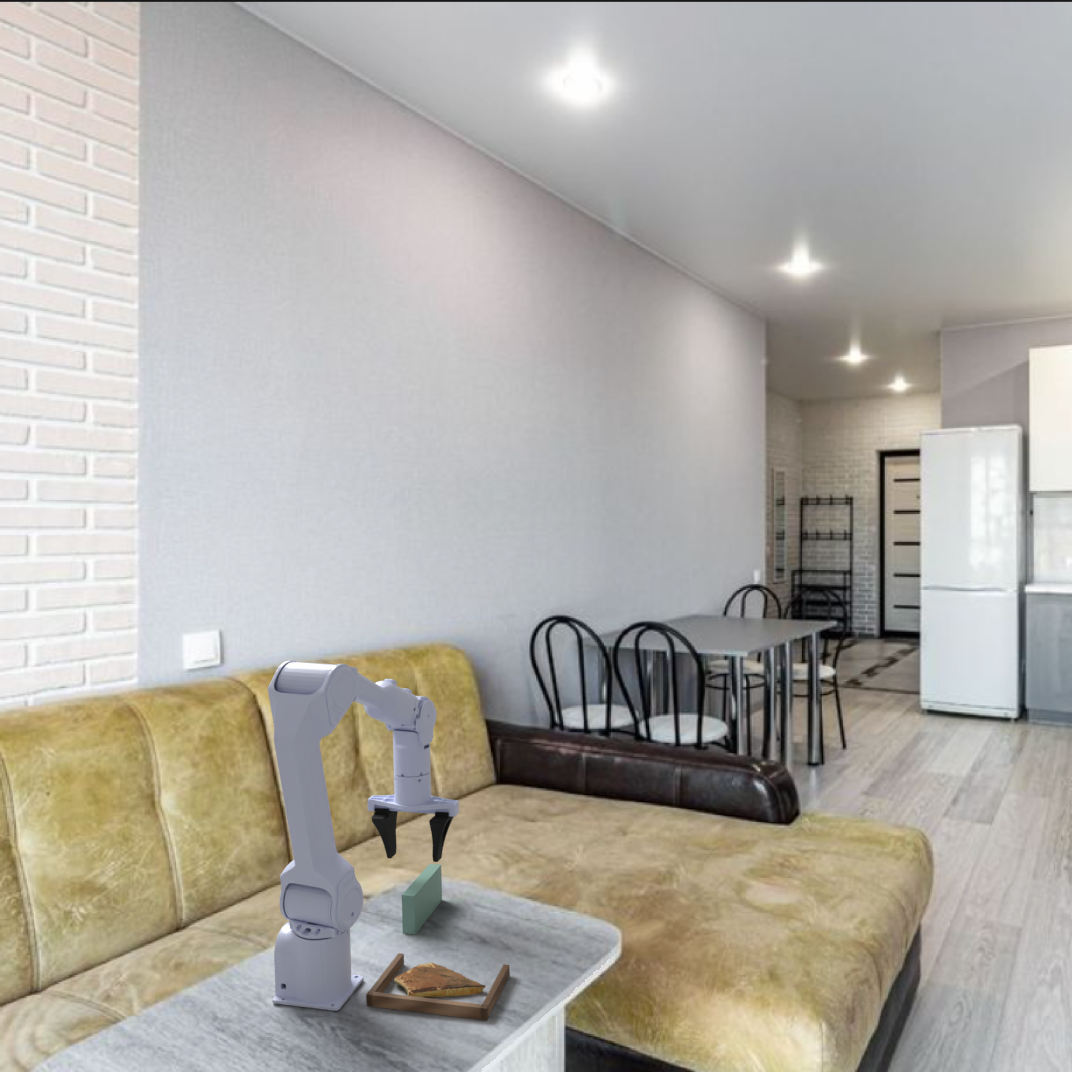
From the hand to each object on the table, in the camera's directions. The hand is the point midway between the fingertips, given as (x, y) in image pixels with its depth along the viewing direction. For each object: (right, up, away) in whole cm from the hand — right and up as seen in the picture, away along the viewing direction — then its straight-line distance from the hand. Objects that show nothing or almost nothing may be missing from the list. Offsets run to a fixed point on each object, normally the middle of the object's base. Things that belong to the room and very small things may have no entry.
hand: (414, 857), depth 139 cm
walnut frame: (+6, -10, -21) cm, 24 cm away
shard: (+6, -11, -19) cm, 23 cm away
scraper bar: (+1, -10, +1) cm, 10 cm away
